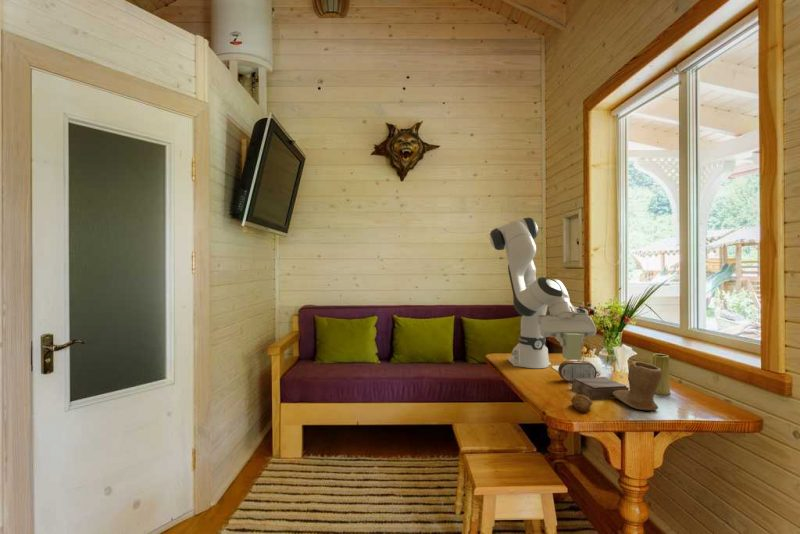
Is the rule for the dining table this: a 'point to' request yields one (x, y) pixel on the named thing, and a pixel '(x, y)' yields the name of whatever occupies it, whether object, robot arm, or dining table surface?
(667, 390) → the vase
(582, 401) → the brown rounded lump
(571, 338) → the block
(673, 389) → the dining table surface
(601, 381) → the plinth
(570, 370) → the tin
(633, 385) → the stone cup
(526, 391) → the dining table surface
